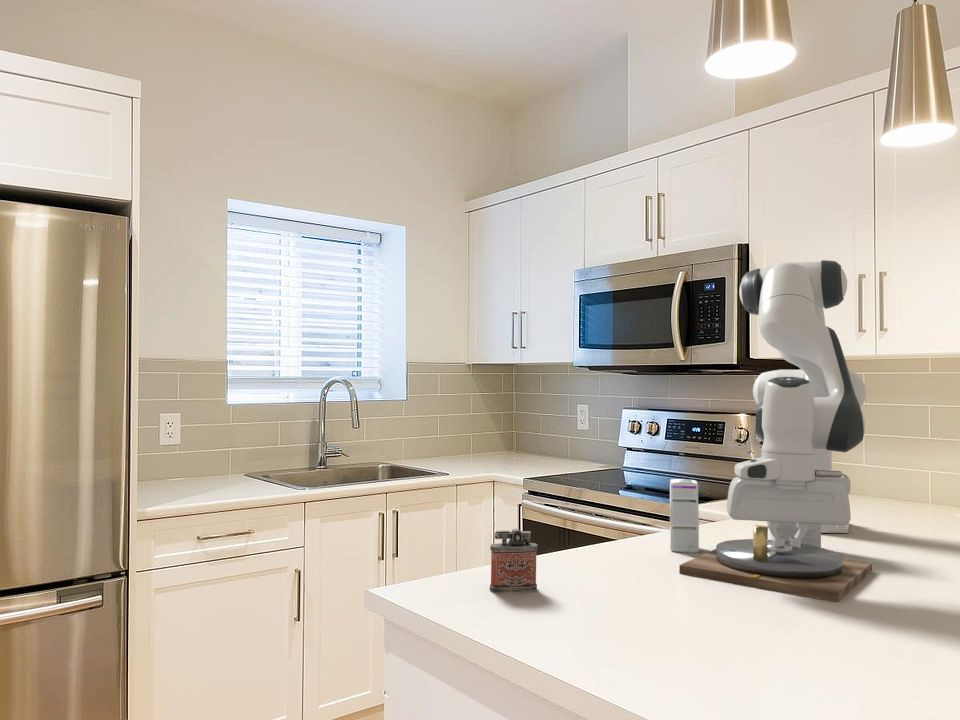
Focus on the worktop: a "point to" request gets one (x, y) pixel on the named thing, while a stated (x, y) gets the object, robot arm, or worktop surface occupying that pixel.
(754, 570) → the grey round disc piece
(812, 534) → the supplement box
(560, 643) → the worktop surface
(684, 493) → the syrup box
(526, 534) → the lighter
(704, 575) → the stand plate
